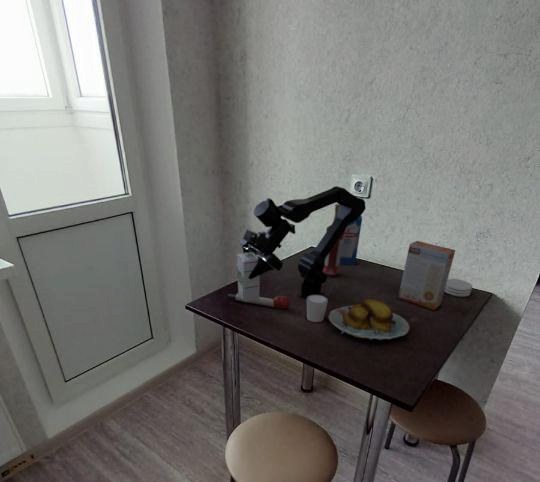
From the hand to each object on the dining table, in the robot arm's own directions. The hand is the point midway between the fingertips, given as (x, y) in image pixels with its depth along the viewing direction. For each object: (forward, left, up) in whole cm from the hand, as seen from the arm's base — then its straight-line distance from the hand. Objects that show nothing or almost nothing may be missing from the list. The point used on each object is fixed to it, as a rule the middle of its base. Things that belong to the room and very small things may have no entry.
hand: (244, 274), depth 129 cm
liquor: (-21, -44, -14) cm, 51 cm away
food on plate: (-40, -4, -14) cm, 43 cm away
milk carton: (-24, -61, -14) cm, 68 cm away
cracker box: (-56, -30, -14) cm, 66 cm away
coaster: (-70, -45, -14) cm, 85 cm away
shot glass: (-23, -4, -14) cm, 27 cm away
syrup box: (-1, -1, -8) cm, 9 cm away
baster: (-2, -7, -13) cm, 15 cm away
